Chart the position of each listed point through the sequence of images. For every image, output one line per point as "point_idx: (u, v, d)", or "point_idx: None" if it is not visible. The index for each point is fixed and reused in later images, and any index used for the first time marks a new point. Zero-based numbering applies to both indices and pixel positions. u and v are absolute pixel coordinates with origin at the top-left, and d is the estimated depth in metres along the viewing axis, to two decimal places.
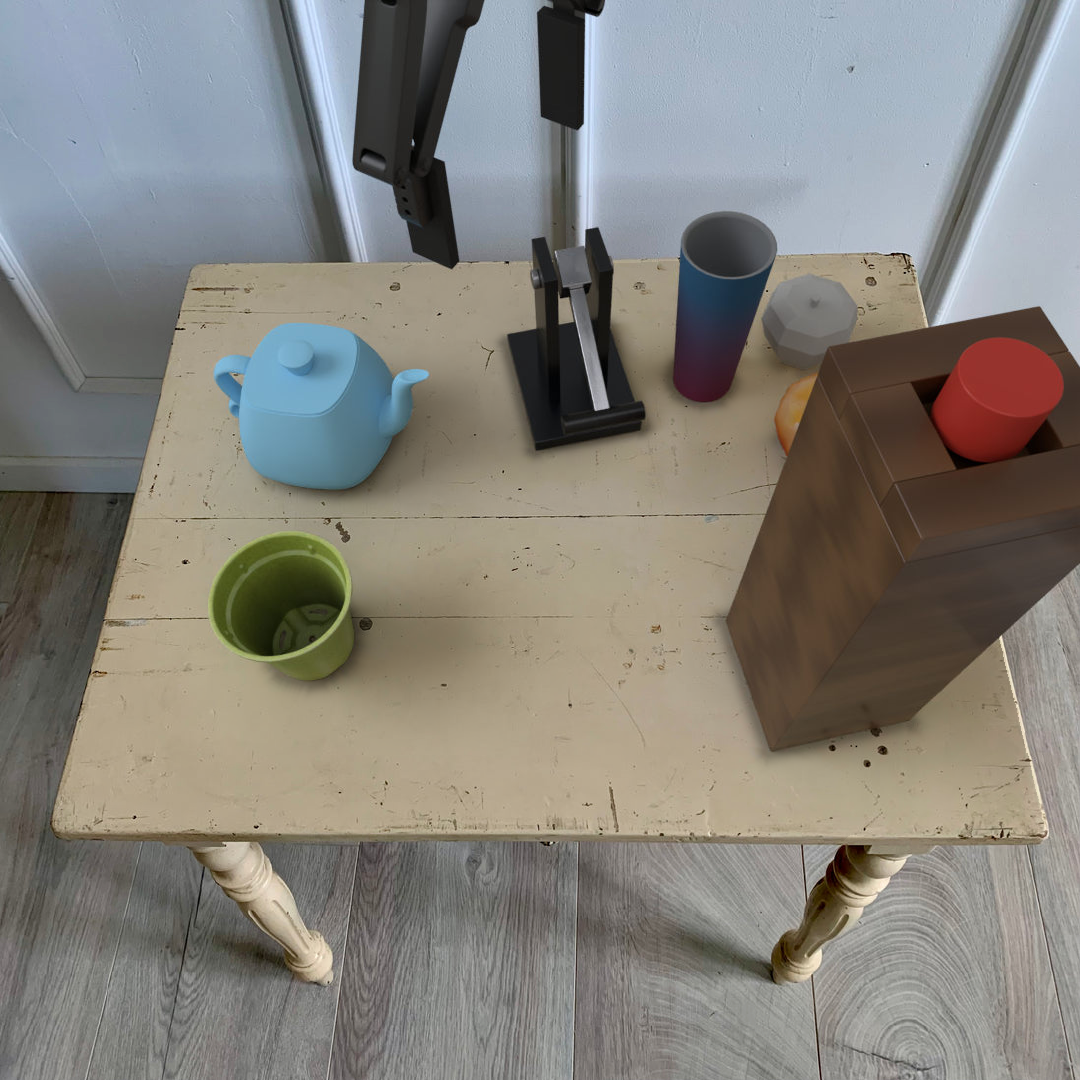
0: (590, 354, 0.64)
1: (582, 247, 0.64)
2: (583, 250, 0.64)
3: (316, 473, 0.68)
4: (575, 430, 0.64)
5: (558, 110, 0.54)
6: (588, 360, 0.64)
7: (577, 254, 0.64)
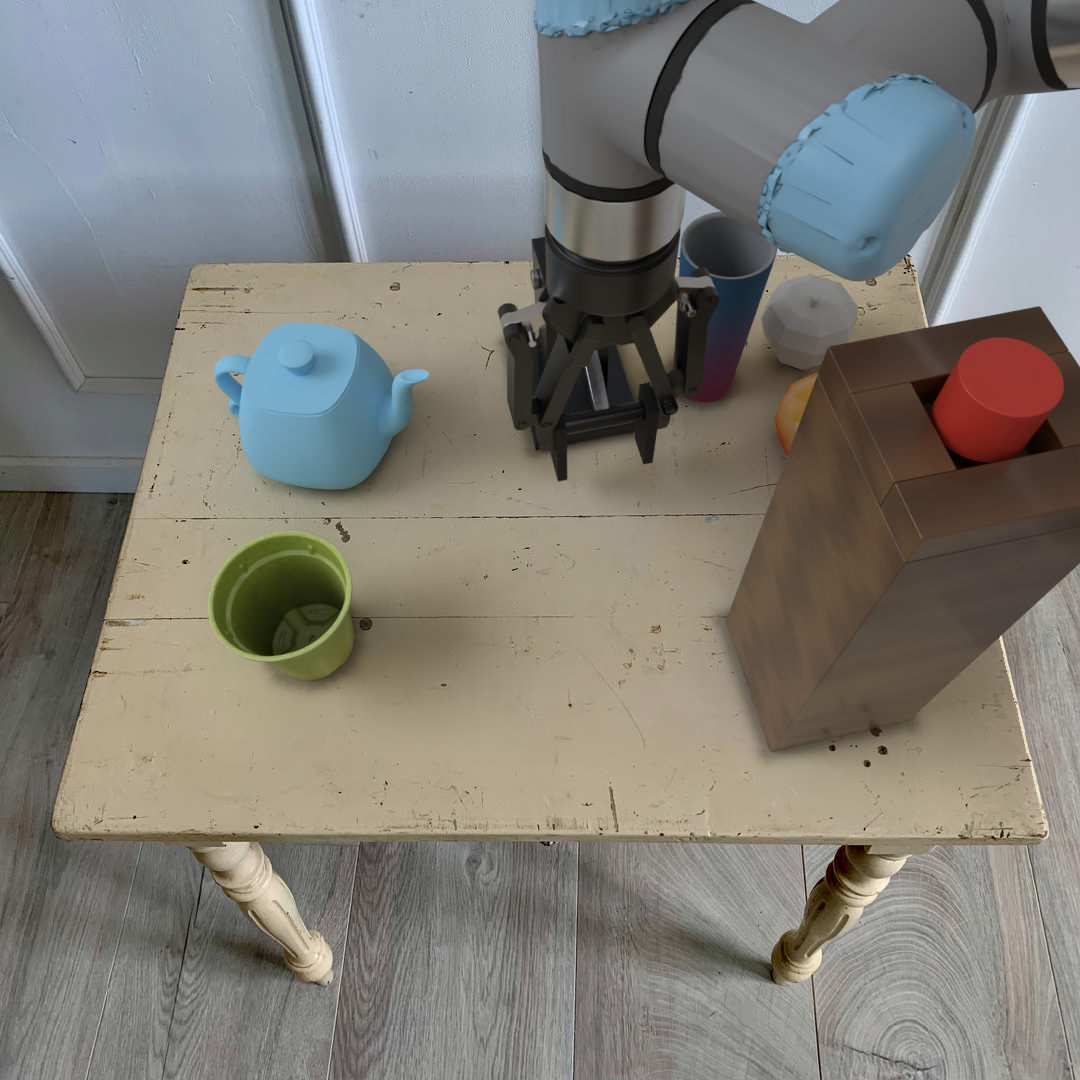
0: None
1: None
2: None
3: (316, 473, 0.68)
4: (575, 430, 0.64)
5: (639, 443, 0.68)
6: None
7: None
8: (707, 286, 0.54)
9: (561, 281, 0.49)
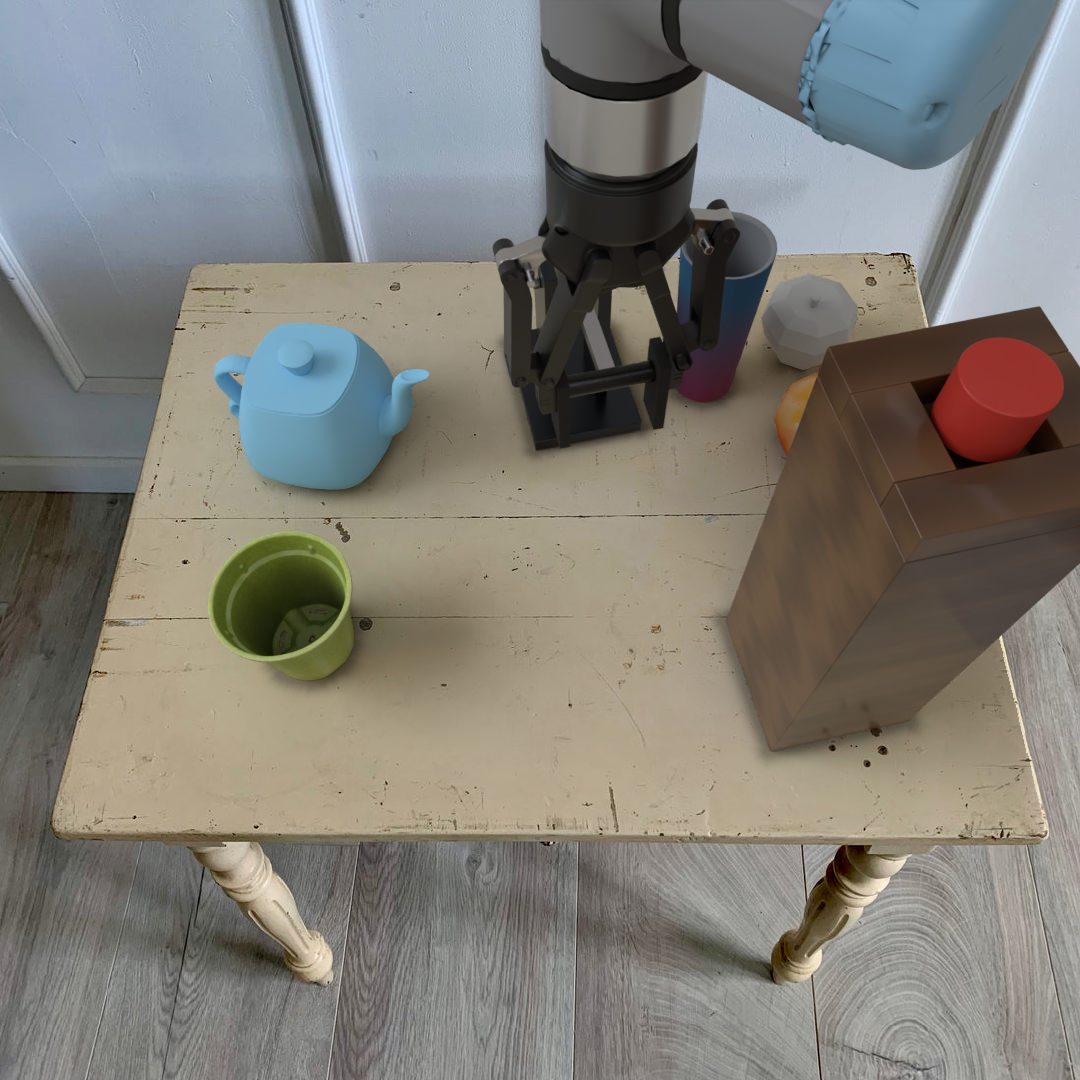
0: (592, 326, 0.61)
1: None
2: None
3: (316, 473, 0.68)
4: (578, 387, 0.58)
5: (648, 407, 0.62)
6: (590, 330, 0.61)
7: None
8: (726, 219, 0.48)
9: (563, 205, 0.44)
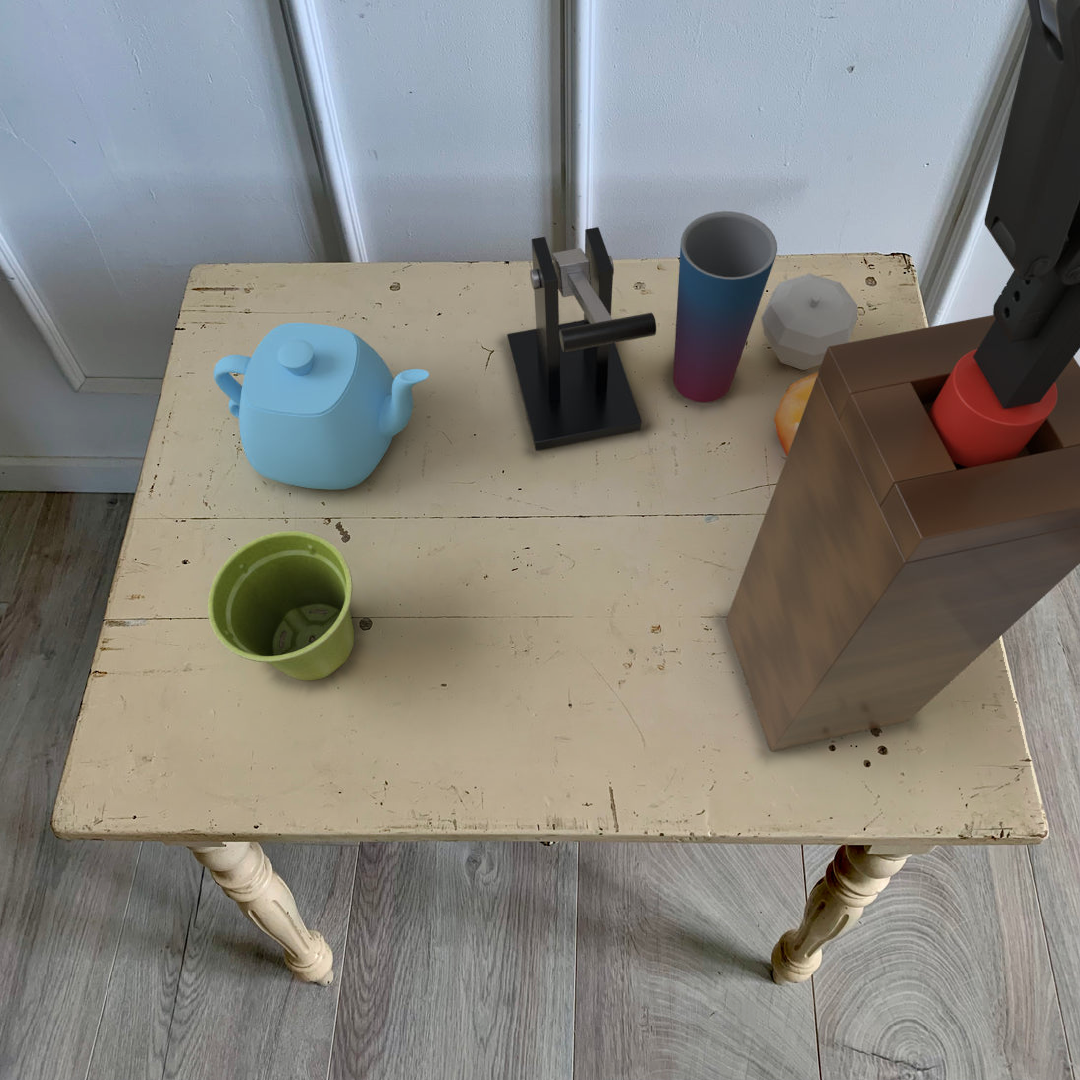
0: (590, 298, 0.60)
1: (579, 248, 0.65)
2: (580, 249, 0.65)
3: (316, 473, 0.68)
4: (574, 336, 0.55)
5: None
6: (588, 300, 0.59)
7: (574, 251, 0.65)
8: None
9: None
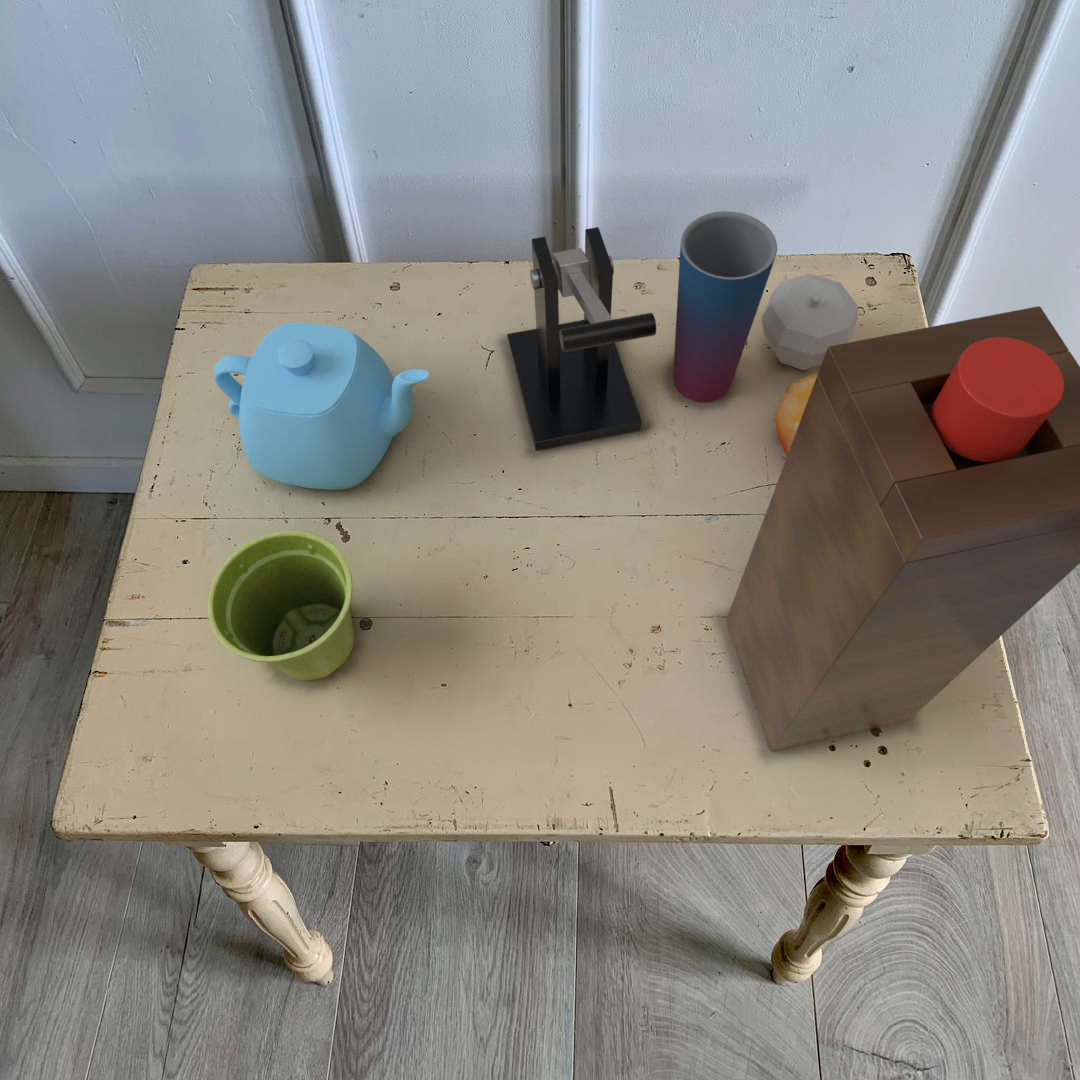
0: (590, 298, 0.60)
1: (579, 248, 0.65)
2: (580, 249, 0.65)
3: (316, 473, 0.68)
4: (574, 336, 0.55)
5: None
6: (588, 300, 0.59)
7: (574, 251, 0.65)
8: None
9: None
